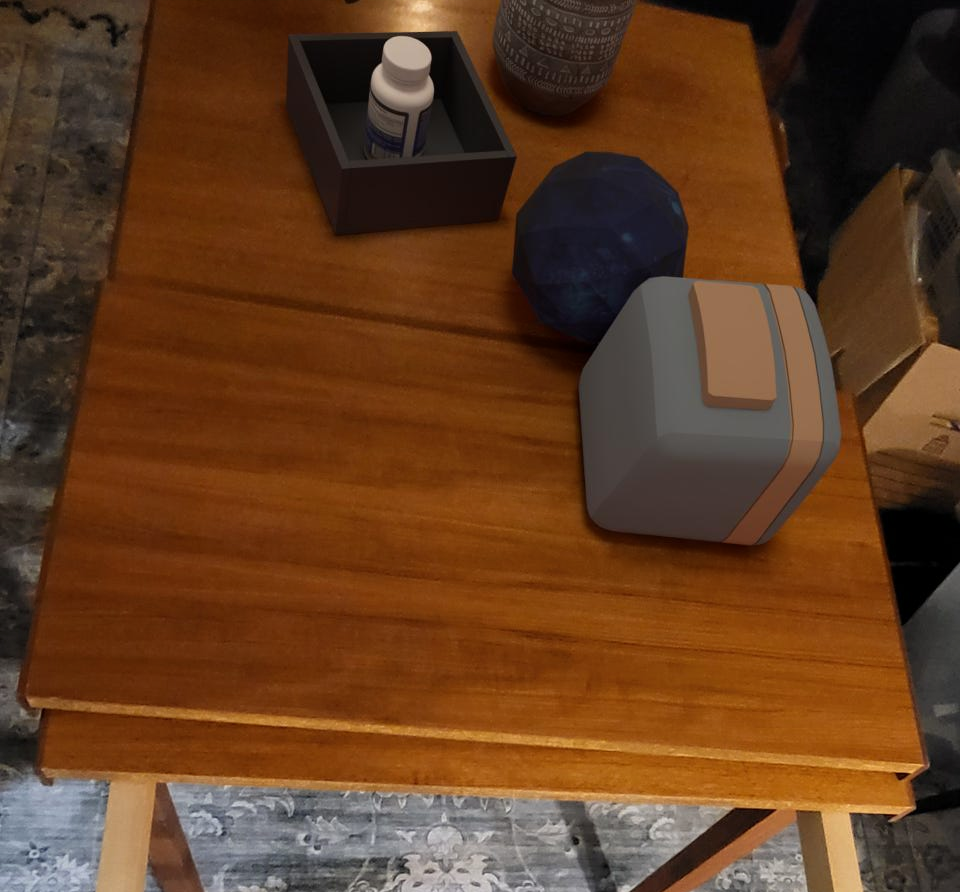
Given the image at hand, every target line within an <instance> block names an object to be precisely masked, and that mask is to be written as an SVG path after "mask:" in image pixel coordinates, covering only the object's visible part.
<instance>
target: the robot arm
mask: <svg viewBox="0 0 960 892" xmlns="http://www.w3.org/2000/svg"><path fill="white" fill-rule="evenodd" d="M359 1H360V0H344V2H345V4H346V5H350V4H356V3H358V2H359Z"/></svg>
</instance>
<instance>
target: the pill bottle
mask: <svg viewBox="0 0 960 892" xmlns="http://www.w3.org/2000/svg"><path fill="white" fill-rule="evenodd" d="M430 65H431V53H430V51H429V49H428V48H427V47H426V46H425V45H424V44H423V43H422V42H420V41H418V40H416V39H414V38H411V37H406V36H397V37H393V38H391V39H389V40H388V41H387V42H386V43H385V45H384V48H383V56H382V63H381V64H380V65H378V66H377V67H376V69H375V70H374V72H373V74H372V78H371V86H370V93H369V103H368V112H367V121H366V129H365V138H364V153H365V156H366V158H367V159H368V160H370V159H385V158H401V157H416V156H423V153H424V147H425V142H426V136H427V130H428V125H429V119H430V114H431V108H432V103H433V96H434V86H433V82H432V80H431V78H430V76H429V72H430Z"/></svg>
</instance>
